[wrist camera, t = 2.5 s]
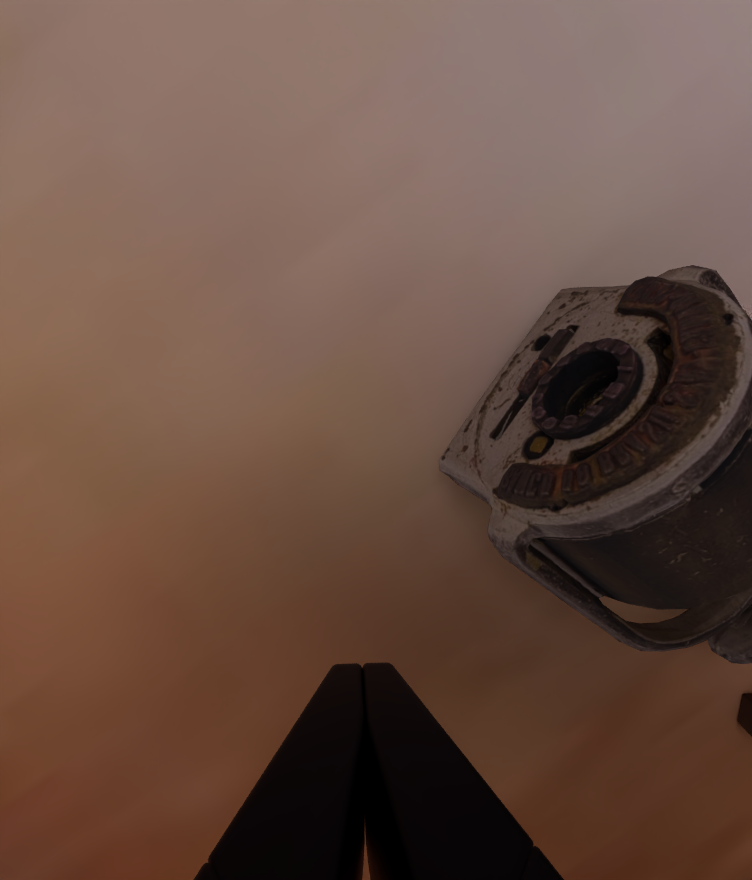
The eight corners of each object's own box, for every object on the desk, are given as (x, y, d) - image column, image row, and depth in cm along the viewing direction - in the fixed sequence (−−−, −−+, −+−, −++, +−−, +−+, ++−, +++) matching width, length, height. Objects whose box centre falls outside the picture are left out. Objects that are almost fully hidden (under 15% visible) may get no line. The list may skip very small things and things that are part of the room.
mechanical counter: (927, 103, 9) (467, 383, 8) (1135, 672, 11) (793, 984, 10) (645, 235, 17) (373, 397, 15) (802, 573, 18) (574, 746, 17)
